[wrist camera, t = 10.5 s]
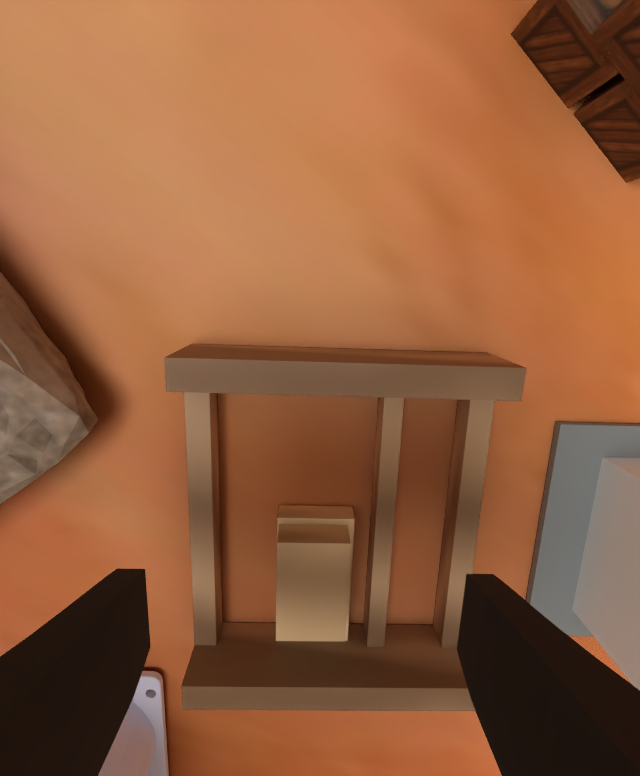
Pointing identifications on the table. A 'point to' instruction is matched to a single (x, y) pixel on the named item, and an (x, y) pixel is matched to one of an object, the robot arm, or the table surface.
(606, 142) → the dark brown block piece
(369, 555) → the rack
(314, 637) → the offcut stack
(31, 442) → the stone tablet
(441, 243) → the table surface
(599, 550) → the panel
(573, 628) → the mat
